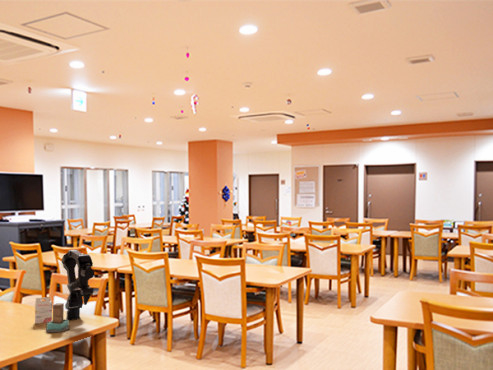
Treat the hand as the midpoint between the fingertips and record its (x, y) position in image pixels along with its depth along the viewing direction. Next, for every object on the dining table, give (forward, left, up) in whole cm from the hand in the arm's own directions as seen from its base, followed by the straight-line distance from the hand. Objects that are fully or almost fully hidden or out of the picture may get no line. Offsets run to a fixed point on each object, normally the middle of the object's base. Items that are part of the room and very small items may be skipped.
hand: (82, 303), depth 244 cm
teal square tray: (+14, +2, -12) cm, 19 cm away
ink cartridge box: (+16, -19, -12) cm, 28 cm away
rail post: (+14, +2, -11) cm, 18 cm away
